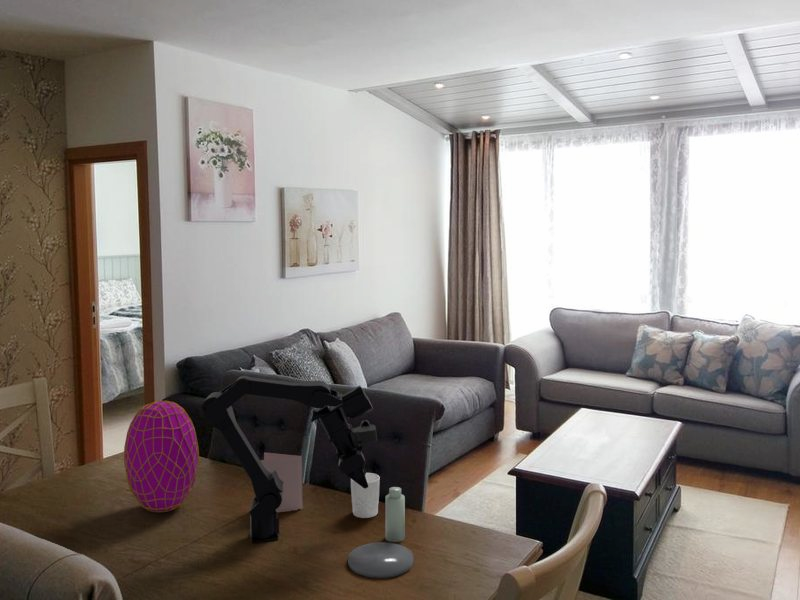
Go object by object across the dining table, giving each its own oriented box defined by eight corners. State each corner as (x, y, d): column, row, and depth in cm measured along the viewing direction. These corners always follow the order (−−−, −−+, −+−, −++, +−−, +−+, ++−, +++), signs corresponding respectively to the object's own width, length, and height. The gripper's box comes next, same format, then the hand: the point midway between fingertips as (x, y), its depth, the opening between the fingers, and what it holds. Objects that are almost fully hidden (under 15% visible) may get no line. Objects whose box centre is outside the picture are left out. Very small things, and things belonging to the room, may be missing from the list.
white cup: (375, 520, 178) (375, 483, 177) (347, 517, 180) (347, 481, 179) (382, 508, 186) (382, 473, 185) (355, 506, 187) (354, 471, 186)
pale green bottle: (388, 543, 165) (388, 493, 163) (383, 535, 169) (383, 486, 168) (407, 540, 166) (407, 491, 165) (401, 532, 171) (401, 484, 169)
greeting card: (303, 508, 186) (303, 455, 185) (292, 518, 179) (291, 463, 178) (266, 503, 189) (265, 451, 188) (253, 513, 182) (252, 459, 181)
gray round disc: (357, 582, 145) (357, 577, 145) (341, 552, 160) (341, 547, 160) (422, 572, 150) (422, 566, 150) (401, 543, 164) (401, 538, 164)
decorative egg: (109, 517, 180) (105, 407, 177) (160, 492, 198) (157, 391, 195) (166, 528, 173) (163, 414, 170) (214, 501, 191) (212, 397, 188)
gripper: (368, 422, 159) (397, 479, 161) (363, 403, 178) (390, 454, 180) (326, 444, 158) (356, 501, 160) (326, 423, 177) (353, 474, 179)
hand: (365, 481), depth 170 cm, fingers open, 9 cm apart
